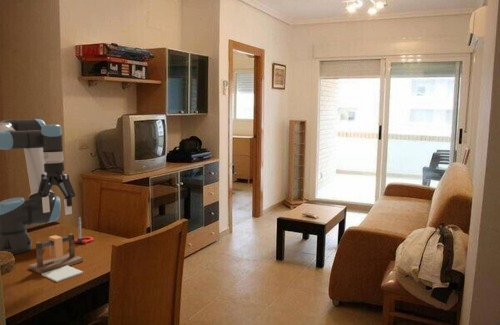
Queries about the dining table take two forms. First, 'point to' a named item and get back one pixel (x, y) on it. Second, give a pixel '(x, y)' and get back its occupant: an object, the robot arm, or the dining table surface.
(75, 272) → the rubber mat
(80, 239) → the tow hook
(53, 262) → the stand
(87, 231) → the dining table surface
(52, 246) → the c-link
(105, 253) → the dining table surface
